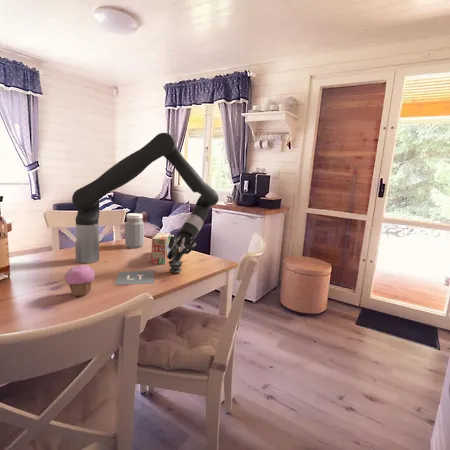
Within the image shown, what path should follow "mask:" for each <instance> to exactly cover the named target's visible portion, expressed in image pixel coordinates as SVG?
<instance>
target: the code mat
mask: <svg viewBox="0 0 450 450" xmlns="http://www.w3.org/2000/svg"><path fill="white" fill-rule="evenodd" d="M154 275H155V273H154V270H138V271H136V270H135V271H119V272H118V275H117V277H116V281H115V283H114V285H115V286H123V285H125V286H126V285H147V284H152V285H153V284H155V281H154V280H155V279H154V277H155V276H154Z"/></svg>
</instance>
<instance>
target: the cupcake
mask: <svg viewBox="0 0 450 450" xmlns="http://www.w3.org/2000/svg"><path fill="white" fill-rule="evenodd" d="M95 277H96V274H95V270H94V269H93V268H91V267H90V266H89V265H87V264H81V265H76V266H73V267H71V268H70V269H68V270H67V272H66V273H65V276H64V278H65V279H64V280H65V283H66V284H68V287H69V290H70V292H71V294H72V295H73V297H77V296H81V297H84V296H86V295H88V294H89V293H90V291H91V290H92V289H91V288H92V281H93V280H94V279H95Z"/></svg>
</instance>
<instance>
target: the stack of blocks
mask: <svg viewBox="0 0 450 450" xmlns="http://www.w3.org/2000/svg"><path fill="white" fill-rule="evenodd" d="M171 236H173V237H175V234H171V232H157V234H155V235H154V236H153V237H152V238H151V264H153V265H166V263H167V262H169V260H170V259H168V258H167V255H168V253H169V251H170V248H169V247H168V245H169V242H170V238H171Z"/></svg>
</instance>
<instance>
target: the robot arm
mask: <svg viewBox="0 0 450 450" xmlns="http://www.w3.org/2000/svg"><path fill="white" fill-rule="evenodd" d="M162 157H164V158H165V159H166V160H167V161H168V162H169V163H170V164H171V165H172V166H173V168H174V169H175V170H176V172H177V173H178V175H179V176H180V177H181V179H182V180H183V181H184V183H185V184H186V186H188V188H189V189H190V190H191V191H192V192H193V193H198V194H199V195H200V196H199V197H198V198H197V200H196V202H195V206H194V208H193V209H192V211H191V213H190V214H189V215H188V217H187V218H186V219H185V221H184V223H183V225H181V228H180V230H179V233H178V234H177V235H176V236H174V237H173V236H171V238H170V242H169V245H168V247H169V248H170V251H169V253H168V255H167V258H168V259H169V260H170V261H171V260H172V247H173V246H174V245H175V244H176V245H178V246H179V252H178V253H177V255H176V257H175V261H177V262H178V261H179V260H180V261H181V259H182V257H183V255H188V254H190V252H191V251H193V250H194V249H195V248H196V247H197V243H196V241H195V239H196V237H197V236H198V234H199V233H200V231H201V229H202V227H203V225H204V223H205V221H206V219H207V218H208V216H209V212H208V211H209V209H210V208H211V207H213V206H215V205H217V204H218V202H219V195H218V193H217V191H215V189H213V187H212V186H210V185H209V184H208V183H206V182H205V181H204V179H203V178H202V177H201V176H200V174H198V172H197V171H196V169H194V167H192V165H191V164H190V163H189V162H188V161H187V160H186V158H185V157H184V156H183V155H182V153H181V152H180V150H179V148H178V147H177V144H176V141H175V139H174V136H172V134H170V133H168V132H160V133H158V134H156V135H155V136H154V137H153V138H152V139H151V140H150V141H149V142H147V143H146V144H145V145H144V146H142V147H141V148H139V149H138V150H136V151H134V152H132V153H130V154H129V155H127V156H125V157H124V158H122V159H121V160H119V161H118V162H116V163H115V164H114V165H112V166H111V167H109V168H108V169H107V170H106V171H105V172H104V173H102V174H101V175H100V176H98V177H97V178H96V179H95V180H93V181H91V182H90V183H88V184H86V185H84V186H82V187H80V188H78V189H77V190H75V191H74V193H73V194H72V197H71V202H72V204H73V205H74V207H76V208H77V213H76V216H75V237H76V240H75V241H74V245H75V247H74V248H75V263H80V264H90V263H91V264H92V263H96V262H99V260H100V238H99V237H100V236H99V235H100V233H99V231H100V230H99V228H100V227H99V218H100V200H101V199H102V198H103V197H104V196H105V195H107V194H109V193H111V192H113V191H114V190H117V189H119V188H121V187H123V186H125V185H126V184H128V183H130V182H131V181H132V180H134V179H135V178H137V176H139V175H140V174H141V173H143V172H144V170H146V168H148V167H149V166H150V165H151V164H152V163H153V162H155V161H157V160H158V159H161V158H162Z"/></svg>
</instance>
